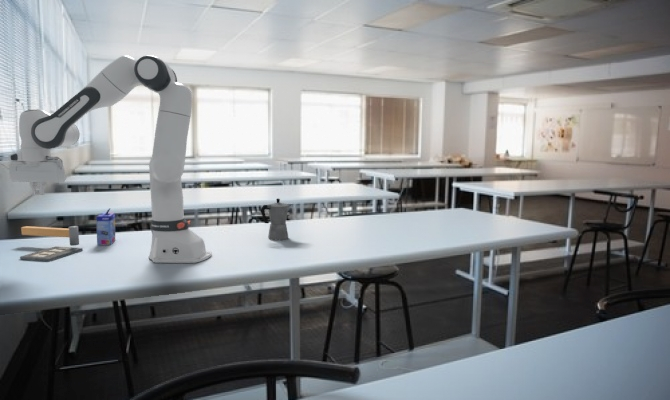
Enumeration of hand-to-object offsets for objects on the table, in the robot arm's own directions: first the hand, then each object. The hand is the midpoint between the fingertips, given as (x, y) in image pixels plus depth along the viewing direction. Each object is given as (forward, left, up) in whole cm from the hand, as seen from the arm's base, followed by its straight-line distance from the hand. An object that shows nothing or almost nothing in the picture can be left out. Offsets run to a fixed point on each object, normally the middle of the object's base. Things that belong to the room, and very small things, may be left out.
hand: (39, 194), depth 159 cm
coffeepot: (-72, -51, -23) cm, 91 cm away
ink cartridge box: (-6, -26, -23) cm, 35 cm away
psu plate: (0, -4, -23) cm, 23 cm away
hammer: (+11, -15, -22) cm, 28 cm away
